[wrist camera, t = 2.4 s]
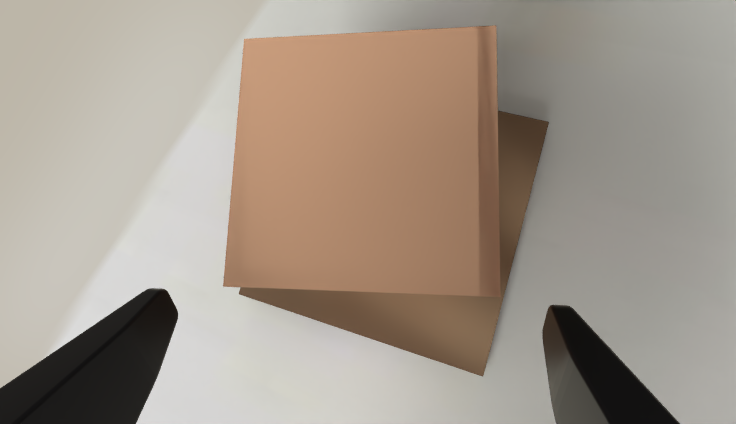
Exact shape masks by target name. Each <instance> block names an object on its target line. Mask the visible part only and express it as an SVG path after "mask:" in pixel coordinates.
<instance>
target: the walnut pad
mask: <svg viewBox="0 0 736 424" xmlns="http://www.w3.org/2000/svg"><path fill="white" fill-rule="evenodd" d="M548 124H549V122H546V121H542V120H537V119H533V118H528V117H524V116H519V115H515V114H510V113H506V112H501V111H498V168H499V233H500V297H485V296H459V295H433V294H407V293H381V292H355V291H329V290H303V289H277V288H251V287H241V288H240V291H239V294H240V295H243V296H246V297H249V298H252V299H255V300H258V301H261V302H264V303H267V304H270V305H273V306H276V307H279V308H282V309H285V310H288V311H291V312H294V313H296V314H299V315H302V316H305V317H308V318H311V319H314V320H317V321H320V322H323V323H326V324H329V325H332V326H335V327H338V328H341V329H344V330H347V331H350V332H353V333H356V334H359V335H362V336H365V337H368V338H371V339H373V340H376V341H379V342H382V343H385V344H388V345H391V346H394V347H397V348H400V349H403V350H406V351H409V352H412V353H415V354H418V355H421V356H424V357H427V358H430V359H433V360H436V361H439V362H442V363H445V364H448V365H450V366H453V367H456V368H459V369H462V370H465V371H468V372H471V373H474V374H477V375H480V376H483V375H484V371H485V367H486V363H487V359H488V355H489V352H490V348H491V344H492V340H493V336H494V332H495V328H496V325H497V321H498V317H499V313H500V309H501V305H502V301H503V297H504V294H505V290H506V286H507V282H508V278H509V274H510V270H511V267H512V263H513V259H514V255H515V251H516V247H517V243H518V240H519V236H520V232H521V228H522V224H523V220H524V216H525V212H526V209H527V205H528V201H529V197H530V193H531V189H532V185H533V182H534V178H535V174H536V170H537V166H538V162H539V158H540V154H541V151H542V147H543V143H544V139H545V135H546V131H547V127H548Z"/></svg>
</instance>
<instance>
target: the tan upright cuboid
mask: <svg viewBox="0 0 736 424" xmlns="http://www.w3.org/2000/svg"><path fill="white" fill-rule="evenodd" d="M223 286H225V287H251V288H277V289H303V290H329V291H355V292H381V293H407V294H433V295H459V296H485V297H500V233H499V168H498V104H497V39H496V26H479V27H460V28H441V29H422V30H404V31H385V32H366V33H348V34H329V35H310V36H291V37H273V38H254V39H244V47H243V59H242V71H241V83H240V95H239V106H238V118H237V130H236V142H235V154H234V165H233V177H232V189H231V201H230V213H229V224H228V236H227V248H226V260H225V272H224V283H223Z"/></svg>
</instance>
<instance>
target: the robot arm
mask: <svg viewBox="0 0 736 424" xmlns="http://www.w3.org/2000/svg"><path fill="white" fill-rule="evenodd" d="M177 319H178V311H177V309H176V307H175V305H174V303H173V301H172V299H171V297H170V295H169V293H168V292H167V291H166V290H165V289H155V288H151V289H147V290H145V291H144V292H142V293H141V294H139V295H138V296H136V297H135V298H133V299H132V300H130V301H129V302H127V303H126V304H124V305H123V306H121V307H120V308H119V309H117V310H116V311H114V312H113V313H111V314H110V315H108V316H107V317H105V318H104V319H102V320H101V321H99V322H98V323H96V324H95V325H93V326H92V327H90V328H89V329H87V330H86V331H85V332H83V333H82V334H80V335H79V336H77V337H76V338H74V339H73V340H71V341H70V342H68V343H67V344H65V345H64V346H62V347H61V348H59V349H58V350H56V351H55V352H53V353H52V354H50V355H49V356H47V357H46V358H45V359H43V360H42V361H40V362H39V363H37V364H36V365H34V366H33V367H31V368H30V369H29V370H27V371H25V372H24V373H22V374H21V375H19V376H18V377H16V378H15V379H13V380H12V381H11V382H9V383H7V384H6V385H5V386H3V387H2V388H0V424H136V422H137V420H138V418H139V416H140V414H141V411H142V409H143V407H144V405H145V403H146V401H147V399H148V396H149V394H150V392H151V390H152V388H153V386H154V383H155V381H156V379H157V376H158V374H159V371H160V368H161V366H162V363H163V360H164V357H165V354H166V351H167V348H168V346H169V343H170V340H171V337H172V334H173V331H174V328H175V325H176V323H177ZM543 345H544V352H545V359H546V366H547V373H548V380H549V388H550V395H551V401H552V407H553V412H554V416H555V420H556V424H680V423H679V422H678V421H677V420H676V419H675V418H674V417H673V416H672V415H671V414H670V412H669V411H668V410H667V409H666V408H665V407H664V406H663V405H662V404H661V403H660V402H659V401H658V400H657V398H656V397H655V396H654V395H653V394H652V393H651V392H650V391H649V390H648V389H647V388H646V387H645V386H644V384H643V383H642V382H641V381H640V380H639V379H638V378H637V377H636V376H635V375H634V374H633V373H632V372H631V370H630V369H629V368H628V367H627V366H626V365H625V364H624V363H623V362H622V361H621V360H620V359H619V358H618V356H617V355H616V354H615V353H614V352H613V351H612V350H611V349H610V348H609V347H608V346H607V345H606V344H605V342H604V341H603V340H602V339H601V338H600V337H599V336H598V335H597V334H596V333H595V332H594V331H593V330H592V328H591V327H590V326H589V325H588V324H587V323H586V322H585V321H584V320H583V319H582V318H581V317H580V316H579V314H578V313H577V312H576V311H575V310H574V309H573V308H572V307H570V306H567V305H551V306H550V307H549V308H548V311H547V315H546V319H545V323H544V326H543Z"/></svg>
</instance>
